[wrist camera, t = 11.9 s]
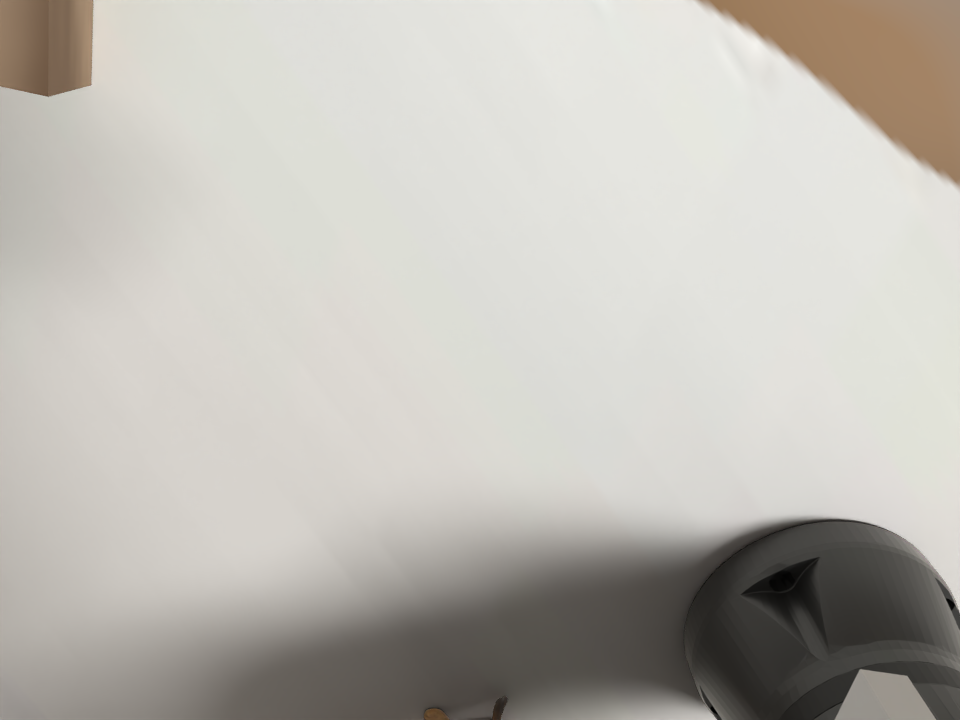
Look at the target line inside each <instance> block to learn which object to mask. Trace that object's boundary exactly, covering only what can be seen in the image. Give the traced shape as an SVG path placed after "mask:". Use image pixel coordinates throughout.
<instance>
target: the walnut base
mask: <svg viewBox="0 0 960 720" xmlns="http://www.w3.org/2000/svg"><path fill="white" fill-rule="evenodd" d="M92 29H93V0H0V86H1V87H6V88H11V89H15V90H20V91H25V92H29V93H34V94H38V95H43V96H48V97H49V96H53V95H56V94H60V93H64V92H67V91H71V90H75V89H78V88H82V87H86V86H90V85H91V70H92Z"/></svg>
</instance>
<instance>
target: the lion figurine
mask: <svg viewBox="0 0 960 720" xmlns="http://www.w3.org/2000/svg"><path fill="white" fill-rule="evenodd" d="M507 700H508V698H507V697H506V696H503V697H502V698H499V699H498V700H497V701H496V704H495V707H494V711H493V717H492V720H501V715H502V713H503V710H504V707H505V705H506V703H507ZM424 718H425V720H450V719H449V718H448V717H447V715H446V714H445V713H444V712H443V711H442V710H440V709H436V708H432V709H428V710H426V712H425V713H424Z"/></svg>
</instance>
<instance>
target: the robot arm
mask: <svg viewBox="0 0 960 720" xmlns="http://www.w3.org/2000/svg"><path fill="white" fill-rule="evenodd" d="M684 648H685V654H686V658H687V661H688V664H689V667H690V670H691V673H692V676H693V679H694V682H695V685H696V688H697V690H698V692H699V694H700V696H701V698H702V700H703V702H704V703H705V705H706V706H707V708H708V709H709V711H710V712H711V713H712V714H713V715H714V716H715V718H716V719H717V720H960V613H959V610H958V606H957V604H956V601H955V599H954V597H953V595H952V593H951V591H950V589H949V587H948V586H947V584H946V583H945V581H944V580H943V579H942V577H941V576H940V575H939V574H938V572H937V571H936V570H935V569H934V567H933V566H932V565H931V564H930V562H929V561H928V560H927V559H926V558H925V556H924V555H923V554H922V553H921V552H920V551H919V550H918V549H917V548H916V547H915V546H913V545H912V544H911V543H910V542H908V541H907V540H905V539H904V538H902V537H900V536H898V535H896V534H894V533H892V532H890V531H887V530H885V529H882V528H879V527H875V526H872V525H867V524H862V523H855V522H838V521H833V522H819V523H811V524H805V525H801V526H796V527H792V528H789V529H785V530H782V531H779V532H777V533H774V534H771V535H769V536H767V537H764V538H762V539H760V540H758V541H756V542H754V543H752V544H751V545H749V546H747V547H745V548H744V549H742V550H741V551H739V552H738V553H736V554H735V555H733V556H732V557H731V558H729V559H728V560H727V561H726V562H725V563H723V564H722V565H721V566H720V567H719V568H718V569H717V570H716V571H715V572H714V573H713V574H712V575H711V576H710V577H709V579H708V580H707V581H706V582H705V584H704V585H703V586H702V588H701V589H700V591H699V592H698V594H697V596H696V597H695V599H694V601H693V603H692V605H691V608H690V610H689V613H688V616H687V620H686V624H685V630H684Z"/></svg>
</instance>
